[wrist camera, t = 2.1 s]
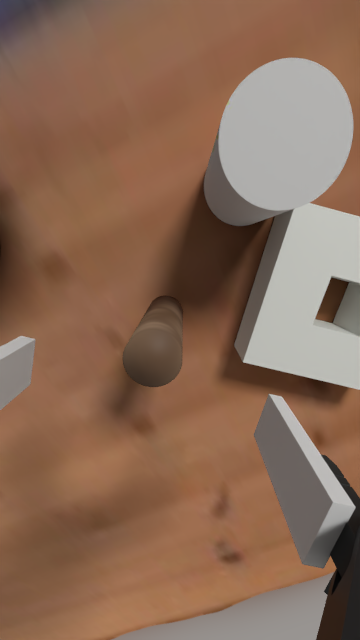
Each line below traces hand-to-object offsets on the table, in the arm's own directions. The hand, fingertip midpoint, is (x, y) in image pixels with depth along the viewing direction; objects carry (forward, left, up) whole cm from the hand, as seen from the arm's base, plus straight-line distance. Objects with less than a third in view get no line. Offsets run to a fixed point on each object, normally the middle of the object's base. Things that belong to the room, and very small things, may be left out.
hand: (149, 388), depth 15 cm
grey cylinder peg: (+4, +15, -18) cm, 24 cm away
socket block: (+17, +6, -17) cm, 25 cm away
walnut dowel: (0, 0, -17) cm, 17 cm away
